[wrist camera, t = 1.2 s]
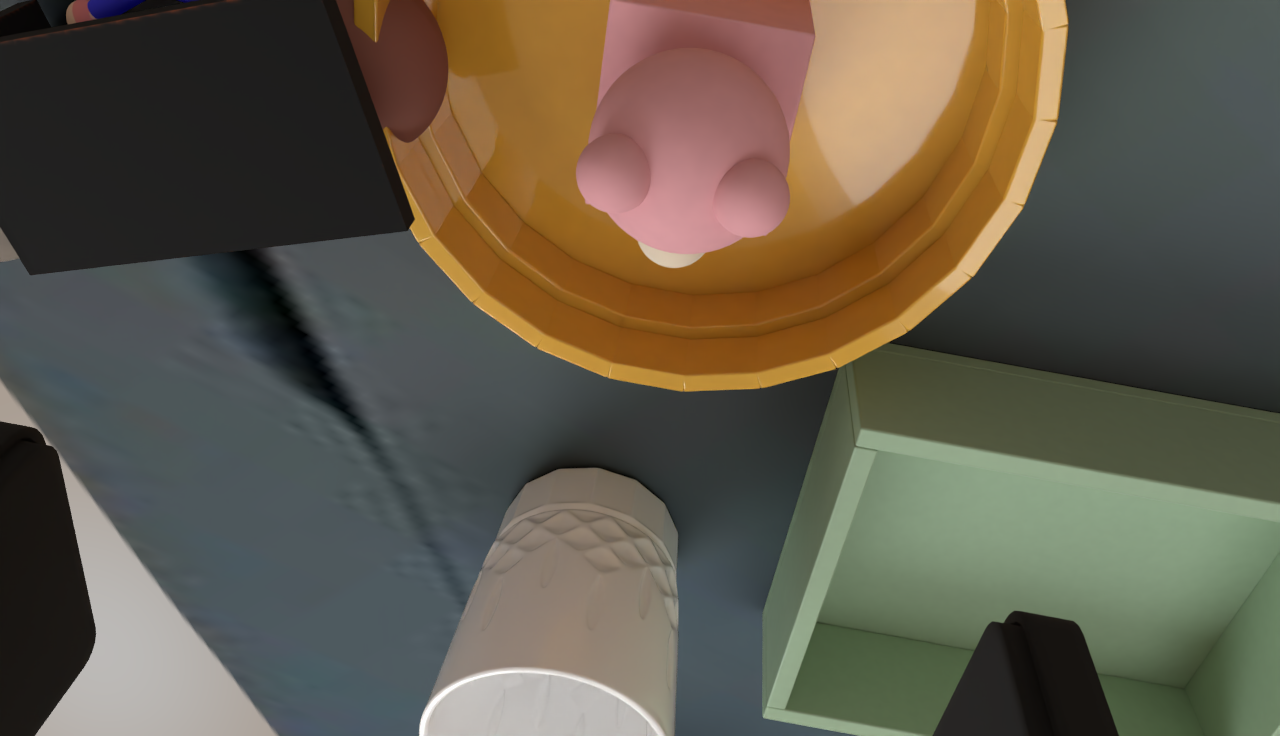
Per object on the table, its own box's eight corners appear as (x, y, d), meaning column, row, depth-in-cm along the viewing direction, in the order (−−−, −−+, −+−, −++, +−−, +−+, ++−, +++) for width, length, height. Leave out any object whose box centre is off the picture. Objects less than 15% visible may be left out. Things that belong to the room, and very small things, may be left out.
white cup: (620, 421, 36) (576, 635, 28) (731, 564, 39) (721, 795, 31) (451, 499, 39) (366, 715, 31) (567, 626, 42) (519, 853, 34)
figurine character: (102, 192, 34) (503, 136, 30) (-71, 304, 28) (400, 255, 24) (-5, -9, 31) (431, -106, 26) (-229, 70, 25) (289, -38, 20)
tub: (848, 335, 33) (861, 427, 29) (1371, 429, 33) (1460, 536, 29) (762, 612, 41) (761, 718, 36) (1188, 690, 40) (1237, 805, 36)
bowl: (413, -376, 24) (346, -391, 20) (1132, -249, 24) (1201, -240, 20) (403, 263, 33) (357, 333, 30) (914, 355, 33) (933, 437, 29)
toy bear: (636, -54, 27) (578, 56, 18) (807, -24, 27) (826, 100, 18) (610, 138, 30) (551, 306, 21) (764, 166, 30) (763, 344, 21)
